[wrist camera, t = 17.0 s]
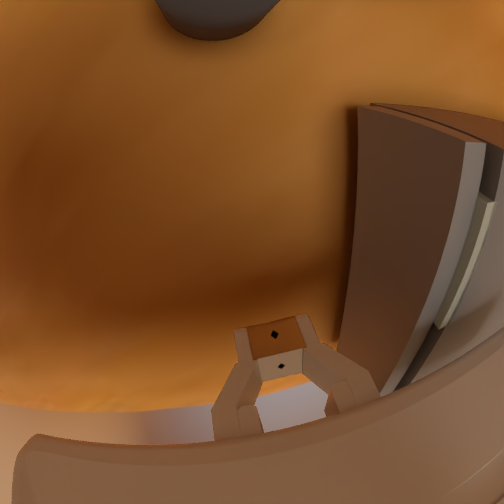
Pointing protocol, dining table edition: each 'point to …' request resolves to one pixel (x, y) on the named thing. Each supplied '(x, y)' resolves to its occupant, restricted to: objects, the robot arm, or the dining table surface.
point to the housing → (468, 255)
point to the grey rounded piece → (214, 16)
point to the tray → (405, 236)
